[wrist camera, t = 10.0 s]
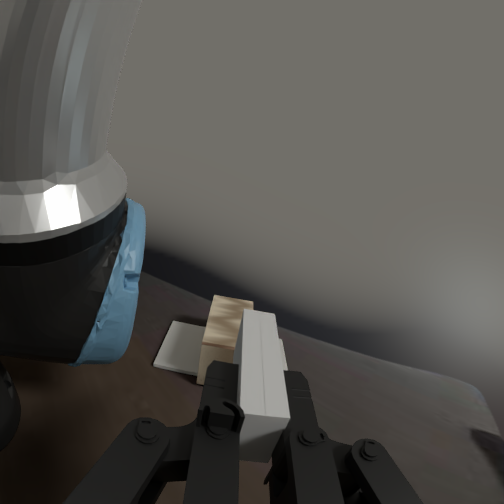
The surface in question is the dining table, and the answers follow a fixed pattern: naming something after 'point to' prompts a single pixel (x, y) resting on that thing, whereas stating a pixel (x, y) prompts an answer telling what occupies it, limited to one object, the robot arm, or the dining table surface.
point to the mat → (187, 349)
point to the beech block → (221, 332)
